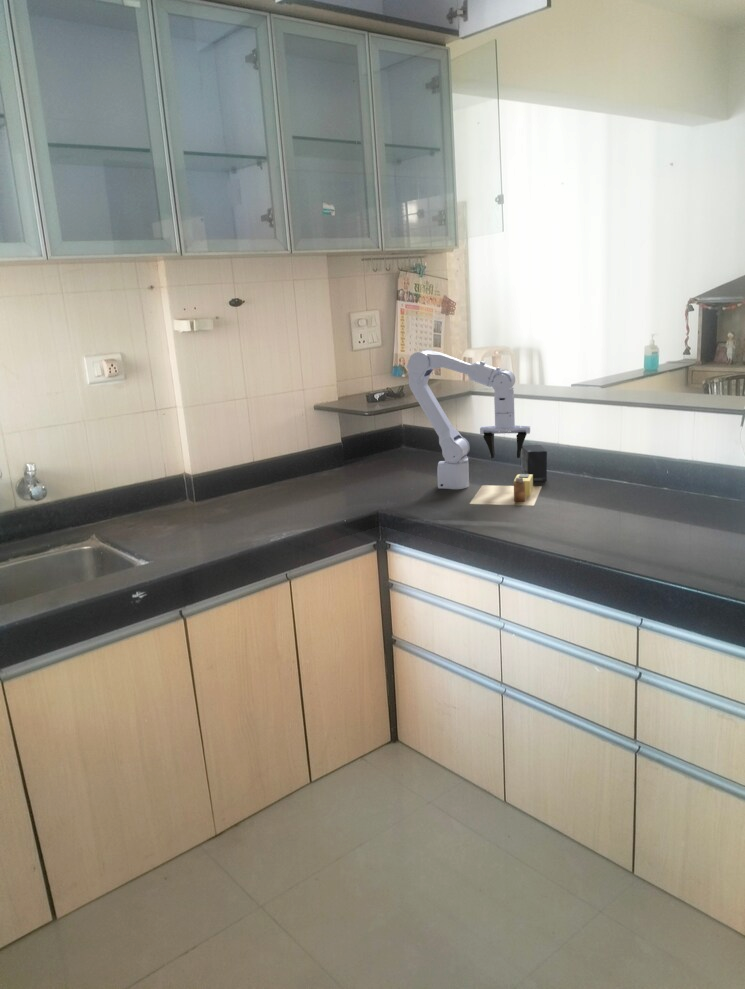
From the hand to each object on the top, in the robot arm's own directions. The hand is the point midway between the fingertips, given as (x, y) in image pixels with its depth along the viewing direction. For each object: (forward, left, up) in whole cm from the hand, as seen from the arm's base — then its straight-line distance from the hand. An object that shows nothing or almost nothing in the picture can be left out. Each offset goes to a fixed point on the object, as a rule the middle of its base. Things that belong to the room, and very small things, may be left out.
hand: (505, 457), depth 225 cm
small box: (+7, +14, -11) cm, 19 cm away
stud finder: (+6, -5, -9) cm, 12 cm away
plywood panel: (+1, -8, -10) cm, 13 cm away
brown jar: (+6, -14, -9) cm, 18 cm away
